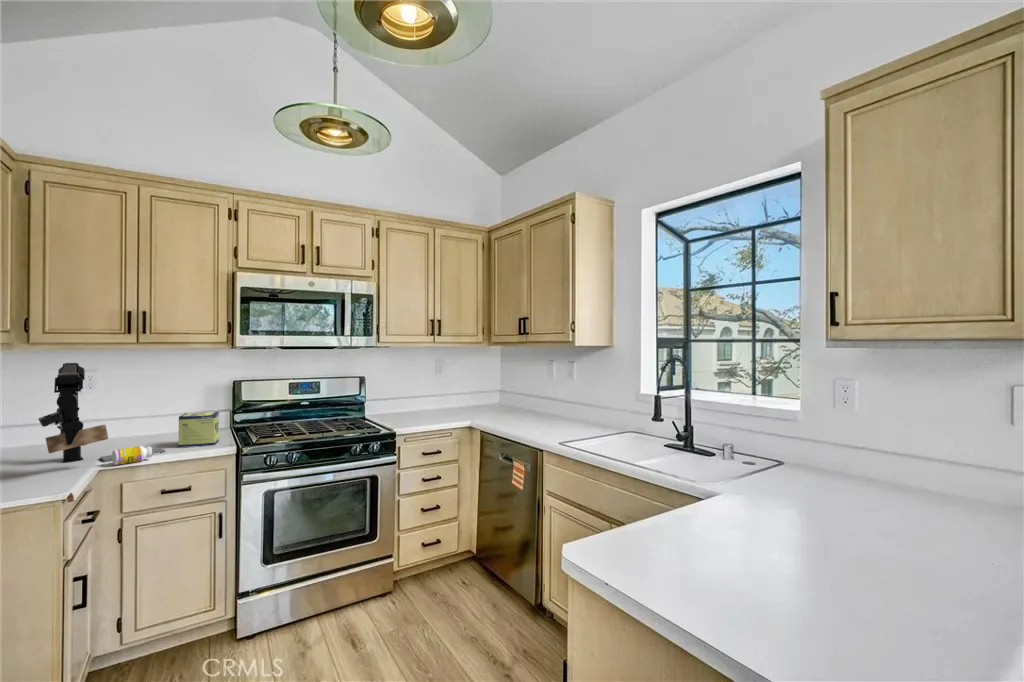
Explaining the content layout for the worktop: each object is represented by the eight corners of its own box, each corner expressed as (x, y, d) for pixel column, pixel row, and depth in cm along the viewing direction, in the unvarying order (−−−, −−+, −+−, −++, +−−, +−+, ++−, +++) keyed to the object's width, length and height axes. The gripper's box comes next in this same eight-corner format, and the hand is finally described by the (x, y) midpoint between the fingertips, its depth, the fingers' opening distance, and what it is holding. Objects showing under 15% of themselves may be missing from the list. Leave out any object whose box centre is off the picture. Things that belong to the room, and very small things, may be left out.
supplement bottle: (116, 458, 196) (153, 452, 206) (113, 446, 199) (150, 441, 209) (113, 468, 199) (151, 462, 208) (111, 456, 202) (148, 450, 212)
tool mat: (99, 459, 208) (99, 456, 208) (159, 449, 226) (159, 447, 226) (104, 462, 204) (104, 459, 203) (165, 452, 221) (165, 450, 221)
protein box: (215, 445, 235) (215, 414, 235) (177, 448, 229) (177, 416, 229) (219, 441, 245) (219, 411, 245) (183, 443, 239) (183, 412, 239)
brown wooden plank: (49, 453, 184) (46, 438, 183) (48, 452, 185) (45, 437, 185) (108, 438, 198) (105, 425, 197) (107, 438, 199) (104, 424, 198)
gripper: (36, 405, 188) (37, 443, 189) (43, 410, 177) (44, 452, 177) (74, 402, 197) (74, 439, 197) (83, 407, 185) (83, 446, 186)
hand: (68, 444), depth 189 cm, fingers closed on brown wooden plank, 2 cm apart
